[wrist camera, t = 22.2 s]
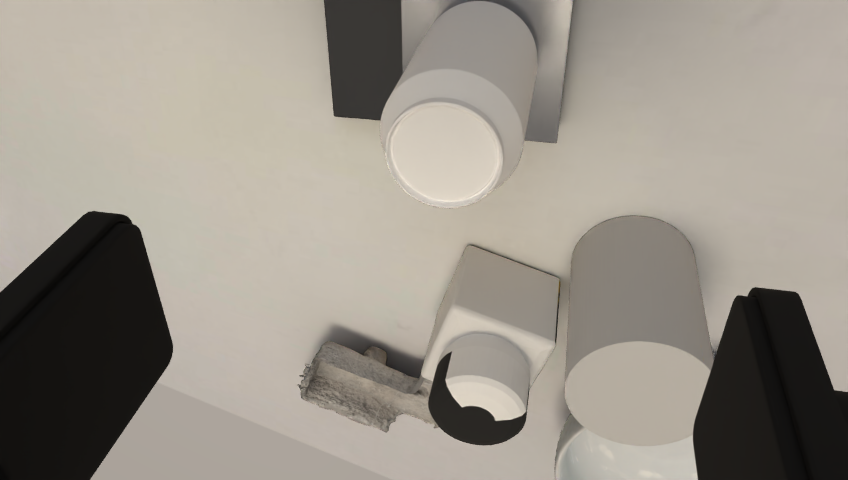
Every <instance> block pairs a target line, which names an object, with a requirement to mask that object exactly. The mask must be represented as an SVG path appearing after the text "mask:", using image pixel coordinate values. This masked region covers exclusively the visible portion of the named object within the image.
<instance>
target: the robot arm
mask: <svg viewBox="0 0 848 480" xmlns="http://www.w3.org/2000/svg"><path fill="white" fill-rule="evenodd" d="M172 353H173V344H172V339H171V336H170V332H169V329H168V325H167V322H166V318H165V315H164V311H163V308H162V304H161V301H160V297H159V294H158V290H157V287H156V283H155V280H154V276H153V273H152V269H151V266H150V262H149V259H148V255H147V252H146V248H145V245H144V241H143V238H142V234H141V232H140V229H139V228H138V227H137V226H136V225H133V224H132V222H131V220H130V219H129V218H128V217H127V216H125V215H122V214H114V213H105V212H96V211H92V212H88V213H86V214H85V215H83V216H82V217H81V218H80V219H79V220H78V221H77V222H76V223H75V224H73V225H72V226H71V227H70V228H69V229H68V230H67V231H66V232H65V233H64V234H63V235H62V236H61V237H59V238H58V239H57V240H56V241H55V242H54V243H53V244H52V245H51V246H50V247H49V248H48V249H47V250H46V251H44V252H43V253H42V254H41V255H40V256H39V257H38V258H37V259H36V260H35V261H34V262H33V263H32V264H30V265H29V266H28V267H27V268H26V269H25V270H24V271H23V272H22V273H21V274H20V275H19V276H18V277H16V278H15V279H14V280H13V281H12V282H11V283H10V284H9V285H8V286H7V287H6V288H5V289H4V290H2V291H1V292H0V480H90V479H91V477H92V476H93V474H94V473H95V471H96V470H97V468H98V467H99V465H100V464H101V463H102V461H103V460H104V458H105V457H106V455H107V454H108V452H109V451H110V449H111V448H112V447H113V445H114V444H115V442H116V441H117V439H118V438H119V436H120V435H121V433H122V432H123V430H124V429H125V427H126V426H127V425H128V423H129V422H130V420H131V419H132V417H133V416H134V414H135V413H136V411H137V410H138V408H139V407H140V405H141V404H142V403H143V401H144V400H145V398H146V397H147V395H148V394H149V392H150V391H151V389H152V388H153V386H154V385H155V384H156V382H157V381H158V379H159V378H160V376H161V375H162V373H163V372H164V371H165V369H166V368H167V366H168V364H169V363H170V360H171V357H172ZM693 447H694V454H695V462H696V469H697V476H698V480H848V392H843V391H835V390H834V389H833V386H832V383H831V380H830V378H829V375H828V372H827V369H826V367H825V364H824V361H823V358H822V356H821V353H820V350H819V347H818V345H817V342H816V339H815V336H814V334H813V331H812V328H811V325H810V322H809V320H808V317H807V314H806V311H805V309H804V306H803V303H802V300H801V298H800V296H799V294H798V293H796V292H792V291H783V290H774V289H765V288H757V287H755V288H752V290H751V291H750V292H749V294H748V297H747V296H736V298H735V299H734V301H733V304H732V307H731V310H730V313H729V316H728V319H727V322H726V325H725V329H724V332H723V335H722V338H721V341H720V344H719V347H718V350H717V353H716V356H715V359H714V362H713V365H712V368H711V372H710V375H709V378H708V381H707V384H706V387H705V390H704V393H703V396H702V399H701V402H700V405H699V408H698V411H697V414H696V418H695V421H694V427H693Z"/></svg>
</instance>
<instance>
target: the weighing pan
mask: <svg viewBox="0 0 848 480" xmlns="http://www.w3.org/2000/svg"><path fill="white" fill-rule="evenodd" d="M471 1H486V2H492V3H496V4H499V5H501V6H504V7H506V8H508V9H509V10H511V11H512V12H514V13H515V14H516V15H517V16H519V17H520V18H521V19H522V20H523V22H524V23H525V24H526V25H527V27H528V28H529V30H530V32H531V34H532V36H533V38H534V41H535V45H536V50H537V70H536V77H535V83H534V88H533V94H532V100H531V105H530V111H529V117H528V122H527V128H526V133H525V139H524V140H525V141H537V142H548V143H557V138H558V129H559V121H560V112H561V103H562V95H563V86H564V78H565V69H566V61H567V52H568V43H569V35H570V26H571V18H572V9H573V0H401V25H402V69H403V73H404V71H405V69H406V68H407V66H408V64H409V62H410V61H411V59H412V57H413V56H414V54H415V52H416V50H417V49H418V47H419V45H420V44H421V42H422V40H423V38H424V37H425V35H426V33H427V32H428V30H429V29H430V27H431V26H432V24H433V23H434V22H435V21H436V20H437V18H439V17H440V16H441V15H442V14H443V13H444V12H446V11H447V10H449V9H450V8H452V7H454V6H456V5H459V4H462V3H466V2H471Z"/></svg>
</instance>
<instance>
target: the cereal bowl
mask: <svg viewBox="0 0 848 480" xmlns="http://www.w3.org/2000/svg"><path fill="white" fill-rule="evenodd" d="M555 480H698V476H697V469H696V462H695V454H694V447H693V435H692V436H690V437H687V438H685V439H683V440H680V441H677V442H673V443H669V444H664V445H657V446H634V445H626V444H621V443H617V442H613V441H610V440H607V439H605V438H602V437H600V436H598V435H596V434H594V433H592V432H591V431H589V430H588V429H586V428H585V427H584V426H582V425H581V424H580V423H579V422H578V421H577V420H576V419H575V417H574V416H573V415H572V413H571V414H570V416H569V417H568V419H567V421H566V423H565V424H564V427H563V430H562V432H561V435H560V439H559V441H558V446H557V450H556V457H555Z"/></svg>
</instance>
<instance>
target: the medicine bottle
mask: <svg viewBox="0 0 848 480" xmlns="http://www.w3.org/2000/svg"><path fill="white" fill-rule="evenodd" d="M559 293H560V280H559V278H557V277H554V276H552V275H549V274H546V273H544V272H541V271H538V270H536V269H533V268H530V267H528V266H525V265H522V264H520V263H517V262H514V261H512V260H509V259H506V258H503V257H501V256H498V255H495V254H493V253H490V252H487V251H485V250H482V249H479V248H477V247H474V246H467V248H466V249H465V251H464V253H463V255H462V258H461V260H460V262H459V265H458V267H457V269H456V271H455V274H454V276H453V278H452V280H451V283H450V285H449V287H448V290H447V292H446V294H445V296H444V299H443V301H442V303H441V305H440V308H439V310H438V313H437V317H436V320H435V324H434V327H433V331H432V335H431V338H430V342H429V345H428V349H427V352H426V356H425V360H424V363H423V367H422V370H421V375H422V377H423V378H425V379H428V380H431V381H433V383H432V387H431V391H430V395H429V400H428V408H429V412H430V414H431V416H432V418H433V419H434V421H435V422H436V424H437V425H438V426H439V427H440V428H441V429H442V430H443V431H444V432H445V433H447V434H448V435H450V436H452V437H453V438H455V439H457V440H460V441H463V442H466V443H470V444H475V445H494V444H499V443H502V442H505V441H507V440H509V439H510V438H512V437H514V436H515V435H517V434H518V433H519V432H520V431H521V430H522V428H523V426H524V424H525V422H526V415H527V405H528V396H529V389H530V388H531V386H532V384H533V383H534V381H535V379H536V378H537V376H538V375H539V373H540V371H541V370H542V368H543V366H544V365H545V363H546V361H547V360H548V358H549V357H550V355H551V353H552V352H553V350H554V348H555V346H556V337H557V323H558V308H559Z"/></svg>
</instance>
